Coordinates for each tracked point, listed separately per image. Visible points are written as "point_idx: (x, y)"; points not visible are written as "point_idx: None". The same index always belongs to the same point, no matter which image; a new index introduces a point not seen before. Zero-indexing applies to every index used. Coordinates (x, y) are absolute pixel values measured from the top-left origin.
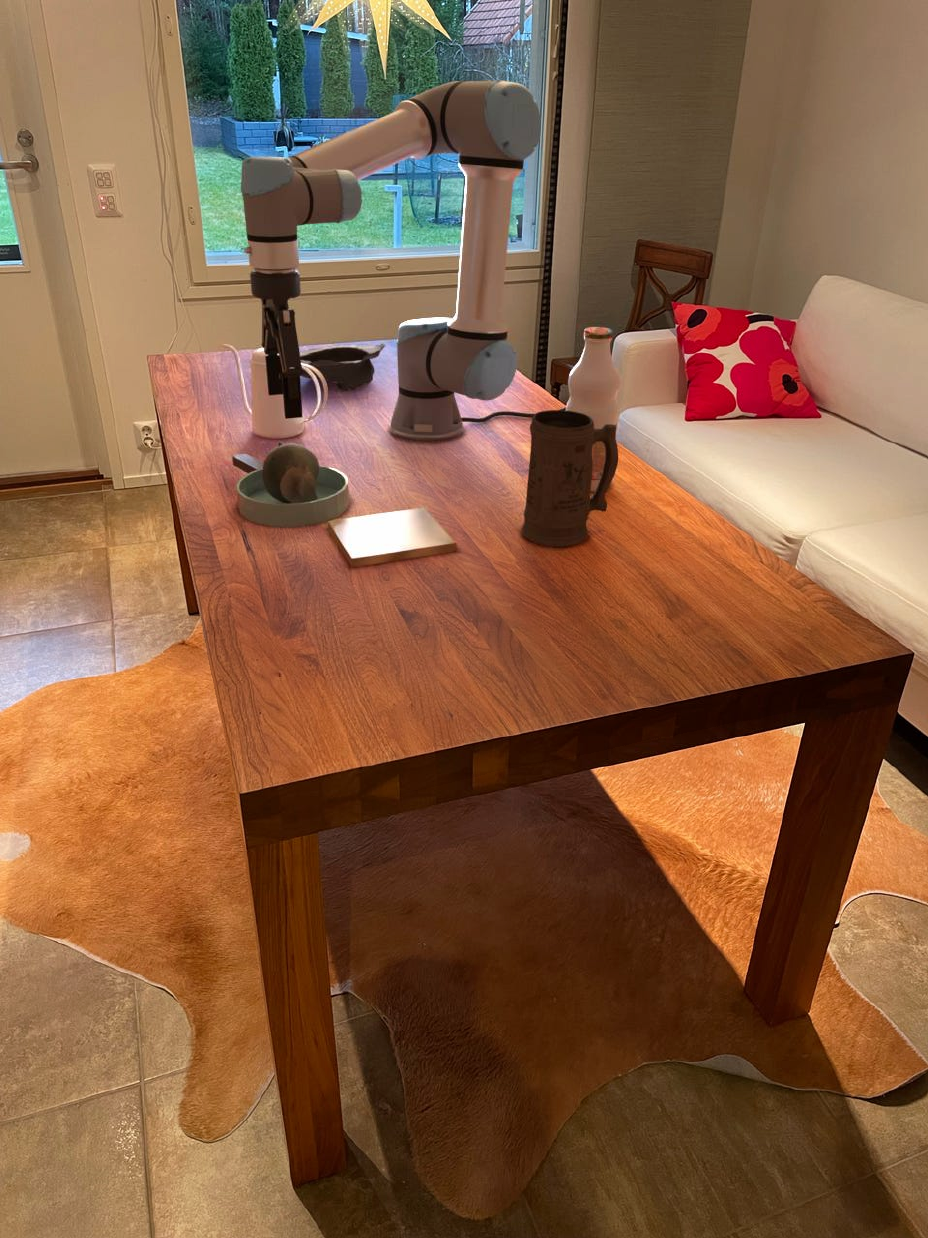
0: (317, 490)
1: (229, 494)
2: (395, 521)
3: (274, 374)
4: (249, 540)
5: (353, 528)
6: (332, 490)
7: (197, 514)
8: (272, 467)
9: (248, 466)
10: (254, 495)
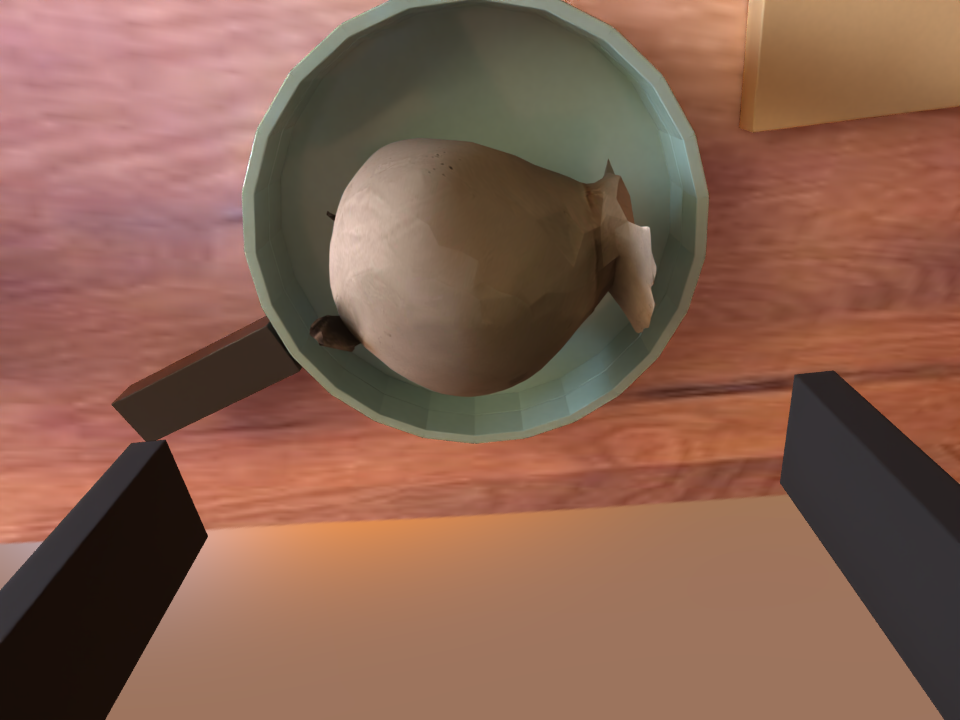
0: (363, 125)
1: (348, 420)
2: None
3: (103, 632)
4: (719, 381)
5: (875, 31)
6: (371, 57)
7: (488, 497)
8: (540, 369)
9: (248, 393)
10: None
